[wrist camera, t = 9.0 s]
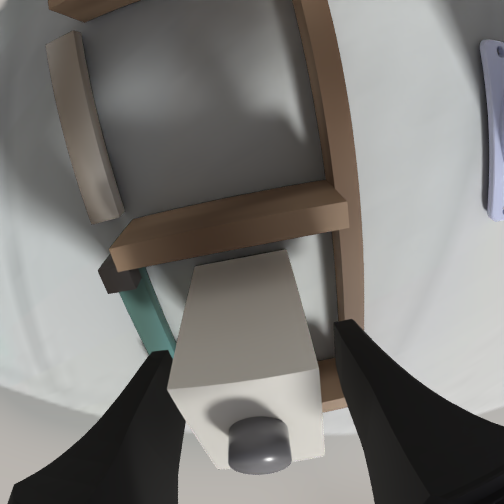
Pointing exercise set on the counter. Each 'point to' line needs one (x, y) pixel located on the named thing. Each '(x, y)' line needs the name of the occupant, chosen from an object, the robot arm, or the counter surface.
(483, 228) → the counter surface
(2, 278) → the counter surface
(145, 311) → the slot rack
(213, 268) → the plug
